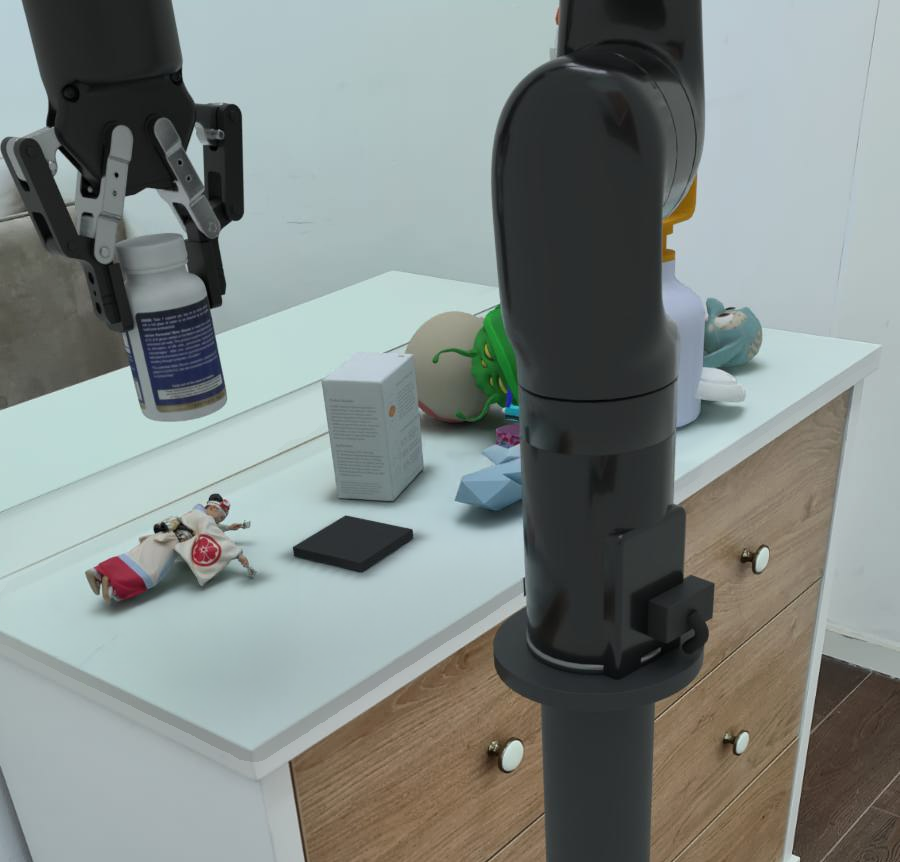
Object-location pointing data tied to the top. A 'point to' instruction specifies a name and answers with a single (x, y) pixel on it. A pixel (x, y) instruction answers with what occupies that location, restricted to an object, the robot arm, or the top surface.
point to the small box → (374, 425)
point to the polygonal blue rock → (494, 480)
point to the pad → (353, 543)
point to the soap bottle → (684, 316)
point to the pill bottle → (169, 331)
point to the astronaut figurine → (719, 386)
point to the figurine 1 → (172, 552)
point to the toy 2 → (447, 367)
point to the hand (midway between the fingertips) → (166, 316)
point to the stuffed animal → (730, 335)
